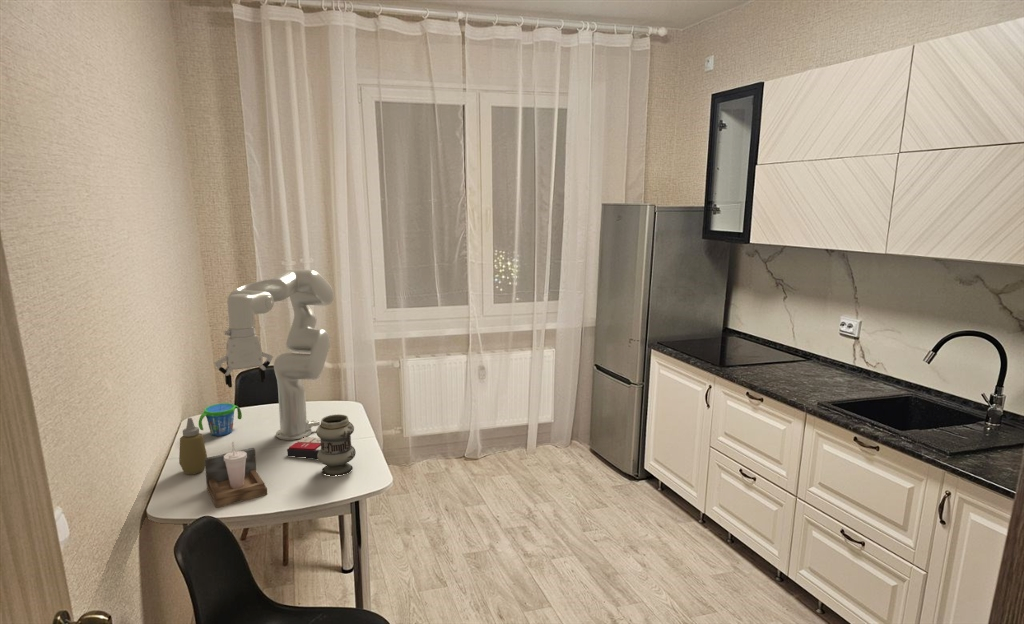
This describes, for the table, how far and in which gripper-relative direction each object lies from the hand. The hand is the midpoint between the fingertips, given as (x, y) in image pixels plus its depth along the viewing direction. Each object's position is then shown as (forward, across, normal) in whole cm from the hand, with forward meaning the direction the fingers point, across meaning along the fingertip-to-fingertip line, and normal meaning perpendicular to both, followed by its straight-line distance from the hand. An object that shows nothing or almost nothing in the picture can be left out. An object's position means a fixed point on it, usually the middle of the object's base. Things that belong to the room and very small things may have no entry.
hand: (245, 383), depth 189 cm
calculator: (+29, +21, -1) cm, 36 cm away
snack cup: (+28, -2, +37) cm, 47 cm away
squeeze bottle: (+28, -16, +6) cm, 33 cm away
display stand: (+28, -8, -17) cm, 34 cm away
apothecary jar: (+28, +22, -20) cm, 41 cm away
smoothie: (+26, -8, -17) cm, 32 cm away
